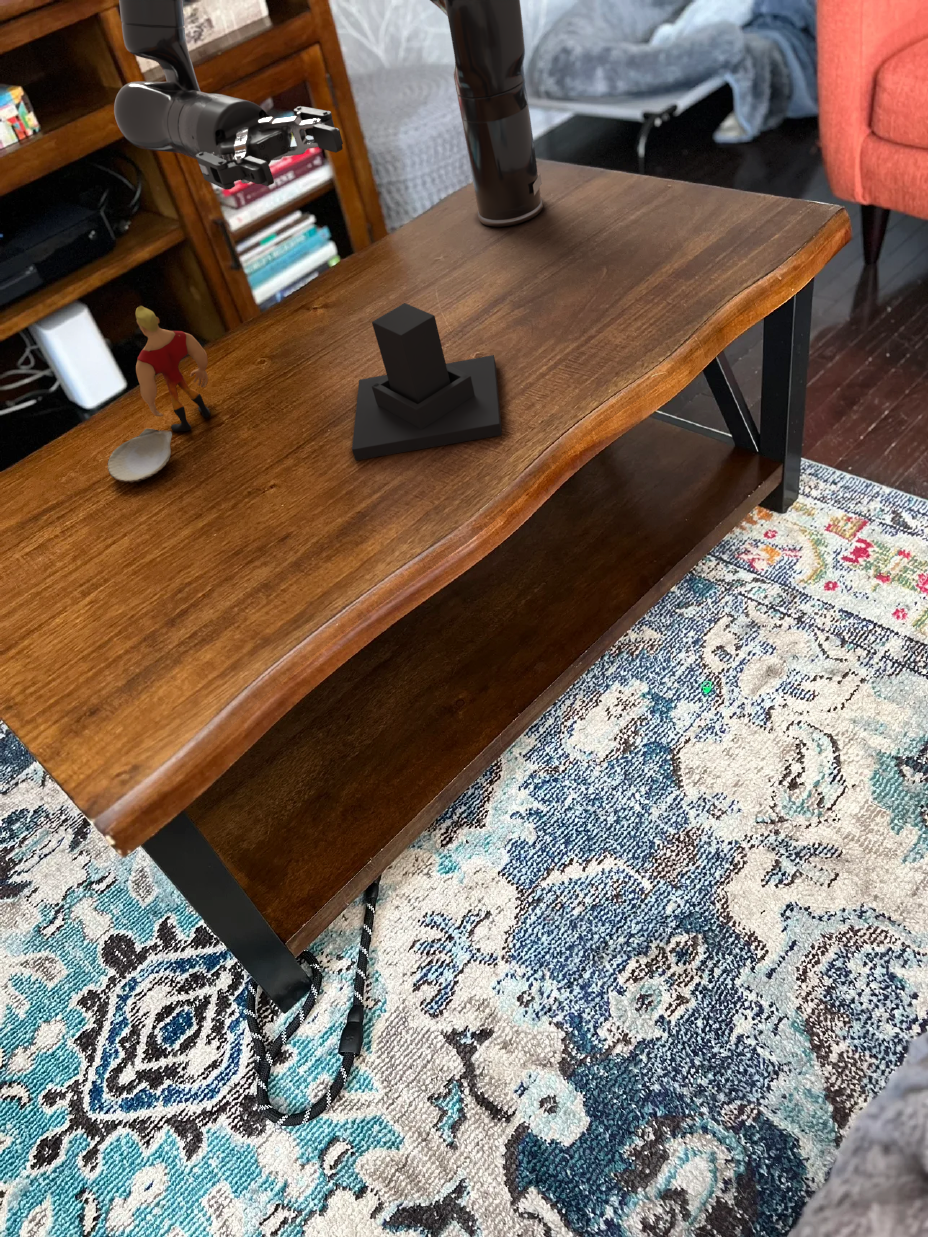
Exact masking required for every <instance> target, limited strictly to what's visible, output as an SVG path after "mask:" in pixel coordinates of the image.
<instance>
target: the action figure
mask: <svg viewBox="0 0 928 1237" xmlns="http://www.w3.org/2000/svg"><path fill="white" fill-rule="evenodd" d="M135 319H136V324H137V325H138V327H139V330H141V332H142V334H143V335H144V336H145V337H147V342H146V344H145V346H144V347H143V348H142V350H141V351H140V352H139V355H138V356H137V360H136V365H135V373H136V378H137V380H138V383H139V387H140V396H141V398H142V399H143V402H145V403H146V404H147V405H148V408H149V411H150V412H151V413H152V414H153V416H155V417H163V416H164V413H162V412H160V411H159V410H157V406H156V398H157V394H158V387H157V386H158V385H157V382H156V380H155V377H156V376H157V375H158V374H161V375H162V376H163V379H164V381H165V384H166V387H167V390H168V392H169V395H170V398H171V405H172V409H173V412H174V414H175V415H176V416H177V418H178V419H179V421H180V423H173V424H172V425H171V426H170V429H171V431H173V432H188V431H190V430H191V429H192V425H191V424H190V423H189V421H188V419H187V416H186V415H187V413H186V409H185V406H184V404H183V403H182V402H181V400H180V399H179V394H178V388H177V386H178V387H179V388H180V389H181V390H182V391H183V392H184V393H185V394H186V395H187V396H188V398H190V400H191V401H192V402H193V403H195V404H196V405H197V407H198V408H197V410H198V412H200V413H201V414H202V417H203V418H209V417H210V415H211V411H210V409H209V407H207V406H206V405H205V402H204V399H203V397H202V394H200V392H198V391H197V390H195V389H194V388H191V387H189V384H188V383H187V381H186V379H185V378H184V376H183V373H182V372H181V371H180V368H179V365H180V362H181V361H182V360H183V358H185V357H186V356H188V355H189V356H190V357H191V359H192V360H193V361H194V362H195V363H196V365H197V367H198V368H196V369H194V370H192V371H191V372H190V374H189V377H191V378H193V377H194V375H195V377H194V379H193V383H196V382H197V381H198V382H197V386H198V387H200V388H206V386H207V385H208V381H209V377H208V373H207V371H206V370H207V367H208V360H209V359H208V354H207V352H206V350H205V349H204V348H203V346H202V345H201V343H200V342H199V341H198V340H197V339H196V338H195V337H194V336H193V335H192V334H190V333H188V332H184V331H182V330H168V329H164V328H161V327H160V326H159V324H160V318H159V317H158V316H156V314H155V312H154V311H153V310H151V309H149V308H147V307H144V306H143V305H139V306H138V307H137V308H136V310H135Z"/></svg>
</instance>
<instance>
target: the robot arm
mask: <svg viewBox="0 0 928 1237" xmlns="http://www.w3.org/2000/svg"><path fill="white" fill-rule="evenodd" d="M429 2H431V3H432V4H433V5H435V6H436V7H437V8H438V9H439V10H440V11H441V12H442V13H443V14H444V15H445V16H446V17H447V20H448V26H449V31H450V37H451V38H450V39H451V43H452V49H453V50H452V51H453V55H454V56H453V57H454V68H453V81H454V86H455V92H456V97H457V102H458V108H459V114H460V119H461V124H462V130H463V135H464V140H465V141H464V142H465V145H466V151H467V157H468V162H469V168H470V173H471V179H472V184H473V189H474V196H475V200H476V206H477V216H478V220H479V223H481V224H483V225H485V226H489V227H498V228H499V227H509V226H515V225H518V224H522V223H525V222H527V221H529V220H531V219H533V218H535V217H536V216H538V214H540V213H541V211H542V210H543V208H544V205H543V198H542V195H541V189H540V188H541V186H542V184H543V182H542V174H541V173H539V171H538V165H537V156H536V150H535V143H534V134H533V127H532V121H531V120H532V119H531V112H530V105H529V99H528V92H527V91H528V90H527V84H526V77H525V76H526V75H525V69H524V64H525V63H524V62H525V55H526V47H525V46H526V45H525V36H524V26H523V17H522V7H521V6H522V5H521V0H429ZM118 4H119V12H120V22H121V31H122V38H123V43H124V47H125V49H126V50H127V51H128V52H129V54H132V55H133V56H136V57H139V58H142V59H146V60H151V61H153V62H156V63H157V64H158V65H159V66H160V68H161V70H162V72H163V74H164V77H165V80H166V81H131V82H128V83H126V84H124V85H123V86H122V87H121V88H120V89H119V90H118V93H117V94H116V97H115V100H114V104H113V105H114V106H113V112H114V113H113V114H114V118H115V121H116V125H117V127H118V129H119V131H120V132H121V134H122V135H123V136H124V138H125V139H126V141H128V142H129V143H130V144H132V145H133V146H135V147H137V148H139V149H142V150H148V151H154V152H166V153H175V154H181V155H184V156H186V157H188V158H191V159H194V160H197V163H198V166H199V168H200V170H201V174H202V176H203V179H204V181H206V182H208V183H210V184H212V185H214V186H217V187H219V188H221V189H223V190H226V191H227V190H232V189H234V187H236V184H235V182H239V181H240V182H241V184H245V185H246V184H249V183H253V184H255V185H262V186H265V187H269V186H272V185H273V184H275V180H274V176H273V172H272V170H271V167H270V164H271V162H273V161H279V160H282V158H285V157H291V156H299V155H301V156H302V155H304V154H305V153H306V152H307V150H309V149H315V148H318V149H321V150H325V151H327V152H328V151H329V152H332V153H339V152H341V151H343V149H344V148H343V145H344V143H343V142H344V141H343V138H342V134H341V131H340V129H339V128H338V127H335V123H334V120H333V114H332V111H330V110H324V109H320V108H314V107H308V106H301V105H300V106H297V107H296V108H294V109H293V112H294V116H288V117H287V116H286V117H280V118H275V117H274V116H270V114H268V112H267V111H266V110H265V109H264V108H263V107H261V106H260V105H258V104H257V103H256V102H253V101H249V100H246V99H242V98H238V97H233V96H229V95H226V94H221V93H208V92H203V91H201V89H200V86H199V82H198V80H197V76H196V73H195V70H194V66H193V62H192V59H191V55H190V51H189V47H188V44H187V39H186V27H185V14H184V2H183V0H118ZM293 137H294V141H295V145H294V146H293V145H292V140H293ZM307 137H312V138H313V139H307Z"/></svg>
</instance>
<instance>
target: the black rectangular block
mask: <svg viewBox="0 0 928 1237" xmlns="http://www.w3.org/2000/svg"><path fill="white" fill-rule="evenodd" d="M371 324H372V327H373V328H372V329H373V331H374V335H375V338H376V342H377V346H378V348H379V349H378V350H379V352H380V356H381V359H382V362H383V367H384V369H385V375H387V377H388V381H389V384H390V388H391V390H392V391H393V392H395V393H397V394H399V395H401V396H403V397H405V398H407V399H409V400H411V401H412V402H414V403H416V404H419V403H421V402H422V401H424V400H425V399H427V398H428V397H430V396H432V395H433V394H435V393H436V392H438V391H440V390H441V389H443V388H444V387H446V386H447V385H449V384H450V380H449V375H448V371H447V367H446V364H447V363H446V359H445V354H444V350H443V346H442V342H441V337H440V333H439V329H438V324H437V321H436V316H435V315H434V314H432V313H429V312H427V311H425V310H422V309H420V308H418V307H416V306H413V305H411V304H408V303H406V302H404V303H402V304H400V305H399V306H397V307H395V308H393V309H392V310H390V311H388V312H386V313H385V314H383V315H381V316H380V317H378V318H376V319H374V320H373V321H371Z"/></svg>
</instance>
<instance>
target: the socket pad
mask: <svg viewBox="0 0 928 1237" xmlns="http://www.w3.org/2000/svg"><path fill="white" fill-rule="evenodd" d="M446 367H447V371H448V375H449V380H450V384H449V385H447V386H446V387H444V388H443V389H441V390H440V391H438V392H436V393H435V394H433V395H432V396H430V397H428V398H427V399H425V400H424V401H422V402H421V403H419V404H416V403H414V402H412V401H411V400H409V399H407V398H405V397H403V396H401V395H399V394H397V393H395V392H393V391H392V390H391V388H390V384H389V381H388V377H387V374H382V375H378V376H372V377H366V378H361V379H359V380H358V388H357V398H356V408H355V417H354V426H353V436H352V445H351V452H352V454H353V458H354V460H355V461H360V460H366V459H373V458H378V457H384V456H389V455H395V454H396V455H397V454H401V453H406V452H412V451H418V450H419V451H420V450H423V449H424V450H425V449H429V448H436V447H441V446H448V445H452V444H458V443H459V444H460V443H464V442H470V441H476V440H483V439H488V438H493V437H498V436H502V435H503V432H502V419H501V409H500V408H501V407H500V394H499V385H498V372H497V363H496V359H495V355H494V354H490V355H485V356H480V357H475V358H470V359H464V360H458V361H453V362H448V363H446Z"/></svg>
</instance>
